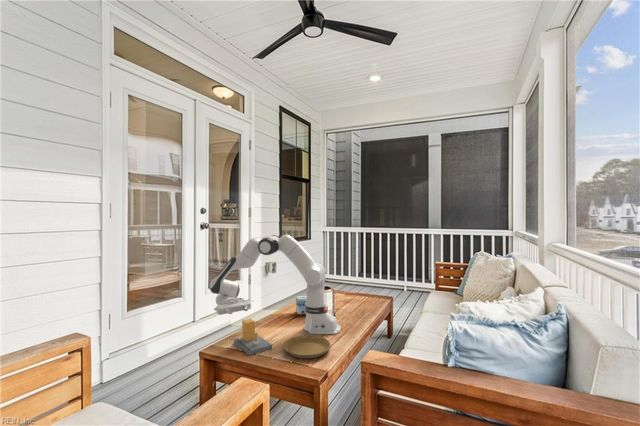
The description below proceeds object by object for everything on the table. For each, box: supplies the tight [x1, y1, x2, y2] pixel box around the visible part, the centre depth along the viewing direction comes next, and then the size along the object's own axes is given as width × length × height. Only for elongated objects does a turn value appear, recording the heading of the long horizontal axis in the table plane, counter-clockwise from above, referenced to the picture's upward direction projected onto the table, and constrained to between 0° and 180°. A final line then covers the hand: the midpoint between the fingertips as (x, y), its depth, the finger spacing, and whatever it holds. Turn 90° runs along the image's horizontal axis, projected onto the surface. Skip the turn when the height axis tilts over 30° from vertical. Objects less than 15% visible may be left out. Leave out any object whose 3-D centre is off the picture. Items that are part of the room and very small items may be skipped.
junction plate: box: [233, 332, 273, 356], centre depth 172 cm, size 19×13×8 cm
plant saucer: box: [283, 335, 332, 359], centre depth 166 cm, size 24×24×3 cm
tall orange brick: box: [241, 318, 256, 342], centre depth 176 cm, size 5×5×10 cm
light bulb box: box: [295, 295, 306, 315], centre depth 227 cm, size 11×7×11 cm, turn 105°
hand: (238, 311), depth 186 cm, fingers open, 8 cm apart
